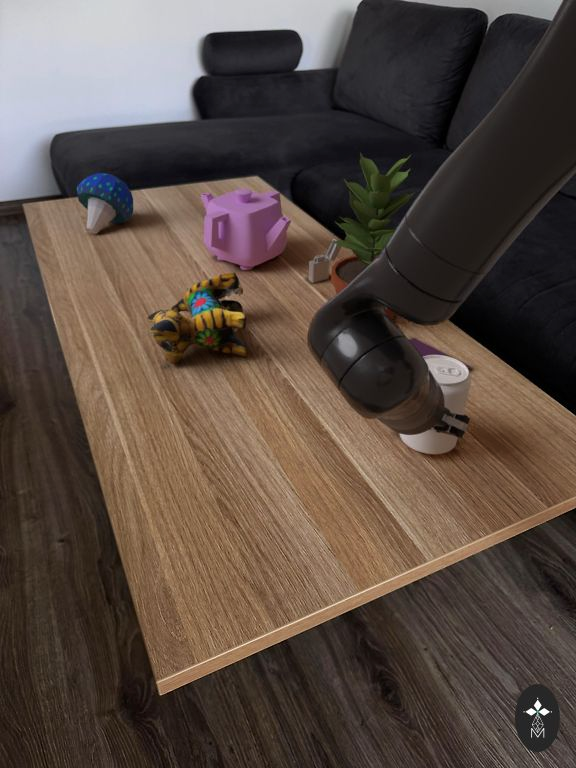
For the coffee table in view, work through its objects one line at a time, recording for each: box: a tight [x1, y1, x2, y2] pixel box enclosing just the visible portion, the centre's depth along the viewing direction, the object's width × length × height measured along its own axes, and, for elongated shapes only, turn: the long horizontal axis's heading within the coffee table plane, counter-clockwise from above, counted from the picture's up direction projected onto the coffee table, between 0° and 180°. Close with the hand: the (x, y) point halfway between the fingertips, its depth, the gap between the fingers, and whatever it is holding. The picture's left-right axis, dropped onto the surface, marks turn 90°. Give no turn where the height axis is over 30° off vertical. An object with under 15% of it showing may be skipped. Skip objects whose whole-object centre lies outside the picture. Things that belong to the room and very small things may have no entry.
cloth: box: [409, 337, 471, 371], centre depth 99 cm, size 12×11×1 cm
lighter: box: [308, 238, 342, 284], centre depth 123 cm, size 7×2×8 cm, turn 121°
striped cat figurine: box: [146, 271, 248, 365], centre depth 103 cm, size 20×12×18 cm
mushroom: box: [76, 172, 134, 235], centre depth 144 cm, size 14×14×15 cm
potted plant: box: [329, 152, 416, 320], centre depth 104 cm, size 15×15×30 cm
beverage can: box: [398, 355, 472, 455], centre depth 81 cm, size 8×8×12 cm
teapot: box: [200, 188, 292, 271], centre depth 129 cm, size 19×18×15 cm
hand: (428, 421), depth 79 cm, fingers closed
